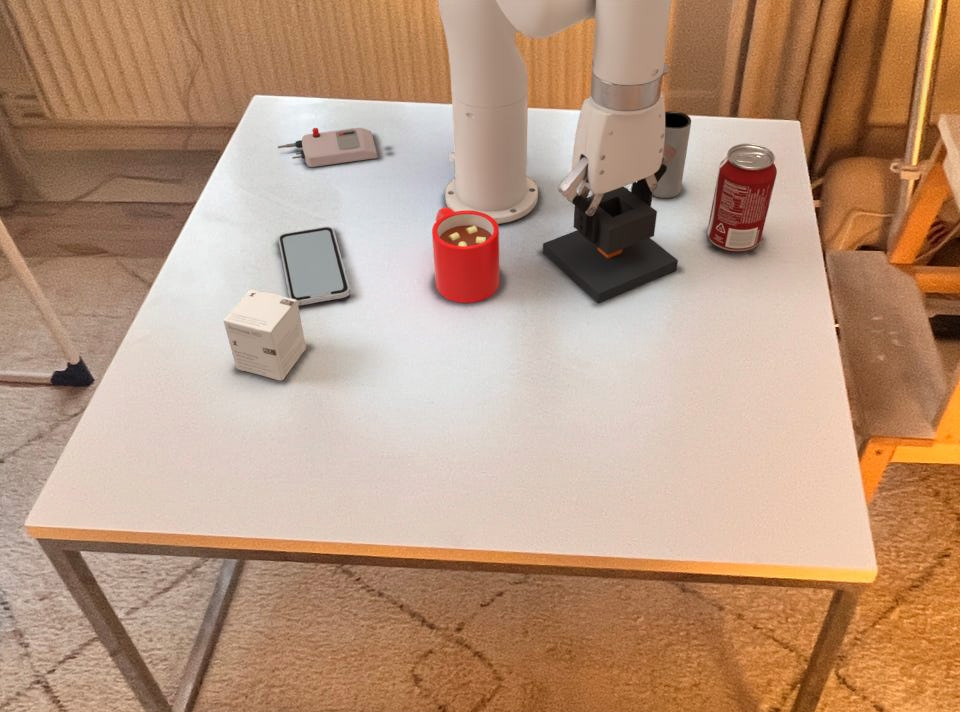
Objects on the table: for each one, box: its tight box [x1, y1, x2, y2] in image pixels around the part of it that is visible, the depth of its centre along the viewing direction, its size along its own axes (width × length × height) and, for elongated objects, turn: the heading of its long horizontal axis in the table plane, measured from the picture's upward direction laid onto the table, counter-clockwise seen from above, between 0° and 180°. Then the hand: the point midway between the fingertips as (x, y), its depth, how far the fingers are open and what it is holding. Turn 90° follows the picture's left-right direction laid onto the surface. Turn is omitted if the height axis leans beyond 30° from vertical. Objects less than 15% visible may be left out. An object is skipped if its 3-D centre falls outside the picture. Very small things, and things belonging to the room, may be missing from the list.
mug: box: [431, 206, 501, 304], centre depth 113 cm, size 8×12×8 cm, turn 28°
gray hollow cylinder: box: [652, 110, 692, 199], centre depth 123 cm, size 4×4×10 cm
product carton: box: [223, 288, 307, 382], centre depth 103 cm, size 6×6×7 cm
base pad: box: [542, 229, 679, 304], centre depth 115 cm, size 12×12×4 cm
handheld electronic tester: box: [277, 127, 386, 168], centre depth 134 cm, size 7×16×3 cm, turn 102°
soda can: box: [706, 143, 778, 252], centre depth 114 cm, size 7×7×12 cm
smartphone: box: [277, 226, 351, 306], centre depth 117 cm, size 7×1×15 cm
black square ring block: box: [573, 186, 658, 255], centre depth 112 cm, size 7×7×4 cm
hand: (613, 226), depth 112 cm, fingers closed on black square ring block, 7 cm apart
